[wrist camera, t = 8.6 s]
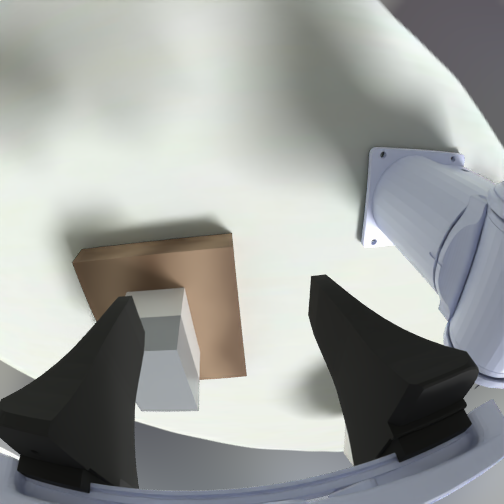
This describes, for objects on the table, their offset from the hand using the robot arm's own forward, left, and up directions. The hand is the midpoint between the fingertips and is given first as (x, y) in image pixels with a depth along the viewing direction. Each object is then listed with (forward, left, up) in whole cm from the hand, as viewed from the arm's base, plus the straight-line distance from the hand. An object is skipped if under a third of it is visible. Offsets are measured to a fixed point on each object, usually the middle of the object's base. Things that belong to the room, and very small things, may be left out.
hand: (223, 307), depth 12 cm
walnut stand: (+5, +9, -10) cm, 15 cm away
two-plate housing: (+5, +8, -8) cm, 13 cm away
